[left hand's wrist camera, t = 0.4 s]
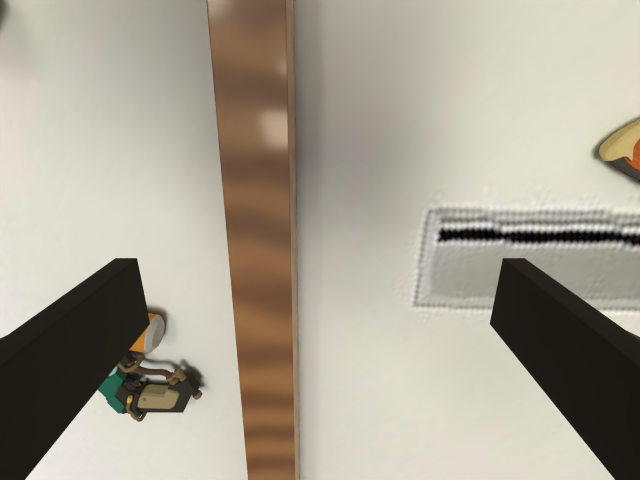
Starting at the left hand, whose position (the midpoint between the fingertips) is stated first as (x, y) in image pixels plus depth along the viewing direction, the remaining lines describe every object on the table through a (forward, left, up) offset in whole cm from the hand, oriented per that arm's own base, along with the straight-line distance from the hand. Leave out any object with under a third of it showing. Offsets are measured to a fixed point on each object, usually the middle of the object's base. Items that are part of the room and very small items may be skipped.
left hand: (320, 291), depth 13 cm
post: (+21, -5, -24) cm, 32 cm away
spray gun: (+22, -23, -24) cm, 40 cm away
